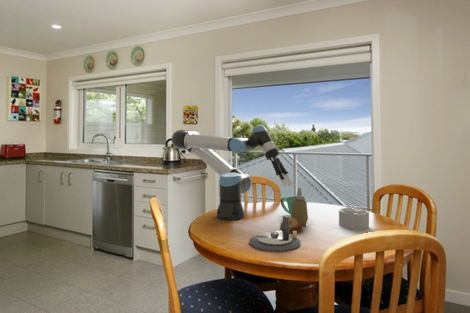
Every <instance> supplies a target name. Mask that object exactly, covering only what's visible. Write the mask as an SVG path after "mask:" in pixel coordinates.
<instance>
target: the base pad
mask: <svg viewBox="0 0 470 313" xmlns="http://www.w3.org/2000/svg"><path fill="white" fill-rule="evenodd" d="M297 234H298V233H297V231H293V234H292V235H291V236H292V242H291V243H290V244H287V245H280V246H273V245H265V244H262V243H260V242H258V241H257V235H258V234H256V235H253V236H251V237H250V238H249V245H250V246H251V247H252V248H253V249H257V250H259V251H263V252H271V253H272V252H273V253H280V252H281V253H283V251H285V252H291V251H294V250H297V249H298V248H300V247H301V240H300V239H299V238H298V236H297ZM290 250H291V251H290Z"/></svg>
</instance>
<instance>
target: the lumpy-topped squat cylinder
mask: <svg viewBox="0 0 470 313" xmlns="http://www.w3.org/2000/svg"><path fill="white" fill-rule="evenodd" d="M338 226H340V228H341V227H342V228H345V229H348V230H353V231H354V230H355V231H365V230H366V229H369V227H370V212H369V211H367V210H365V209H363V208H360V207H358V206H355V207H353V208H352V207H351V206H346V207H344V208H341V209H338Z"/></svg>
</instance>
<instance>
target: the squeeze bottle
mask: <svg viewBox="0 0 470 313" xmlns="http://www.w3.org/2000/svg"><path fill="white" fill-rule="evenodd" d="M296 192H297V193H296V194H295V195H294V197H295V200H293V203H292V213H291V215H290V218H295V219H297V220H298V221H300V223H301V224H302V225H303V226H302V227H305V226H306V225H307V222H308V220H309V215H308V205H307V200H306V199H305V200H304V198H305V195H303V194H302V193H303V191H302V188H301V187H298V188H297V191H296Z"/></svg>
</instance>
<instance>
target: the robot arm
mask: <svg viewBox="0 0 470 313" xmlns="http://www.w3.org/2000/svg"><path fill="white" fill-rule="evenodd" d="M251 131H252V134H251V135H249V136H248V137H246V138H245V137H244V138H243V137H231V136H230V137H228V136H219V135H218V136H217V135H206V134H205V135H204V134H201V133H200V132H199V131H196V130H191V129H190V130H187V129H179V130H176V131H175V132H173V134H172V136H171V144H172V145H173V146H174V148H176V149H178V150H186V151H187V152H188V153H189V154H190V155H196V157H198V158H199V159H200V160H201V161H203V162H204V163H205V165H207V166H208V167H209V168H210V169H212V170H213V171H214V172H215V173H216V174H217V175H218V176H219V181H218V185H219V191H218V193H219V194H218V195H219V205H218V207H217V211H216V218H217V219H220V220H224V221H232V220H233V221H236V220H240V219H243V218H245V211H244V207H243V204H242V194H245V193H246V192H249V190H250V189H251V187H252V184H253V181H252V178H251V176H250V175H249V174H248V173H246V172H243V171H241V170H240V169H239V168H237V167H232V166H231V165H230V164H229V163H228V162H226V161H225V160H224V159H223V158H222V157H221V156H220V155H219V154H217V153H216V152H215V151H223V152H233V153H239V154H240V155H242V156H244V155H246V154H248V153H250V152H251V151H253V150H254V149H256V148H257V147H260V149H261V151H262V153H263V154H264V156H265V158H266V159H267V161H270V162H271V164H272V167H273V169H274V171H275V176H278V178H279V179H280V182H281V183H282V186H283V187H286V186H288V187H290V186H291V185H293V184H294V182H293V181H292V179H291V177H290V175H289V171H288V170H287V169H286V168H285V166H284V164H283V163H282V162H281V159H280V158H279V157H278V156H279V155H280V152H279V150H278V148H276V144H275V143H276V142H275V141H273V140H272V137H271V136H270V133H269V131H268V130H267V129H266V127H265V126H264V124H259V125H257V126H254V128H252V130H251Z"/></svg>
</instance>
